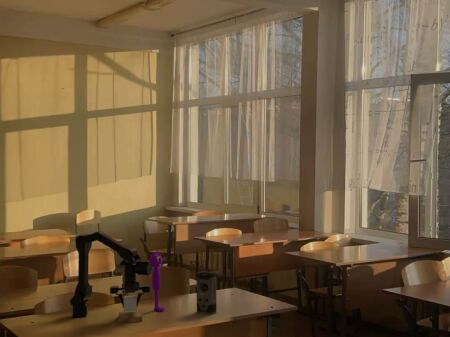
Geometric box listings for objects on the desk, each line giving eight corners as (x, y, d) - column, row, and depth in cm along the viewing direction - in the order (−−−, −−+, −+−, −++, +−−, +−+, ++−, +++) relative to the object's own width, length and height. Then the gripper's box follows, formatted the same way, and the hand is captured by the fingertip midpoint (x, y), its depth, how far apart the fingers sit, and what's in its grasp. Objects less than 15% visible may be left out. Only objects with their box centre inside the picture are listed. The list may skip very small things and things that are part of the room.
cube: (123, 311, 287) (123, 298, 287) (123, 308, 293) (123, 296, 293) (136, 311, 288) (136, 298, 288) (136, 308, 294) (136, 295, 294)
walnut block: (118, 323, 285) (118, 317, 285) (118, 318, 295) (118, 312, 295) (142, 322, 286) (142, 316, 286) (141, 317, 296) (141, 311, 296)
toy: (153, 319, 291) (153, 256, 291) (138, 318, 292) (138, 255, 292) (173, 303, 324) (173, 247, 325) (160, 303, 326) (159, 246, 326)
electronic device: (195, 312, 303) (195, 272, 303) (201, 310, 308) (201, 270, 308) (211, 314, 298) (211, 273, 299) (217, 312, 304) (217, 272, 304)
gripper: (109, 278, 281) (109, 312, 281) (150, 276, 284) (150, 310, 284) (110, 274, 292) (110, 306, 292) (149, 272, 295) (149, 305, 295)
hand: (130, 307), depth 291 cm, fingers closed on cube, 6 cm apart
